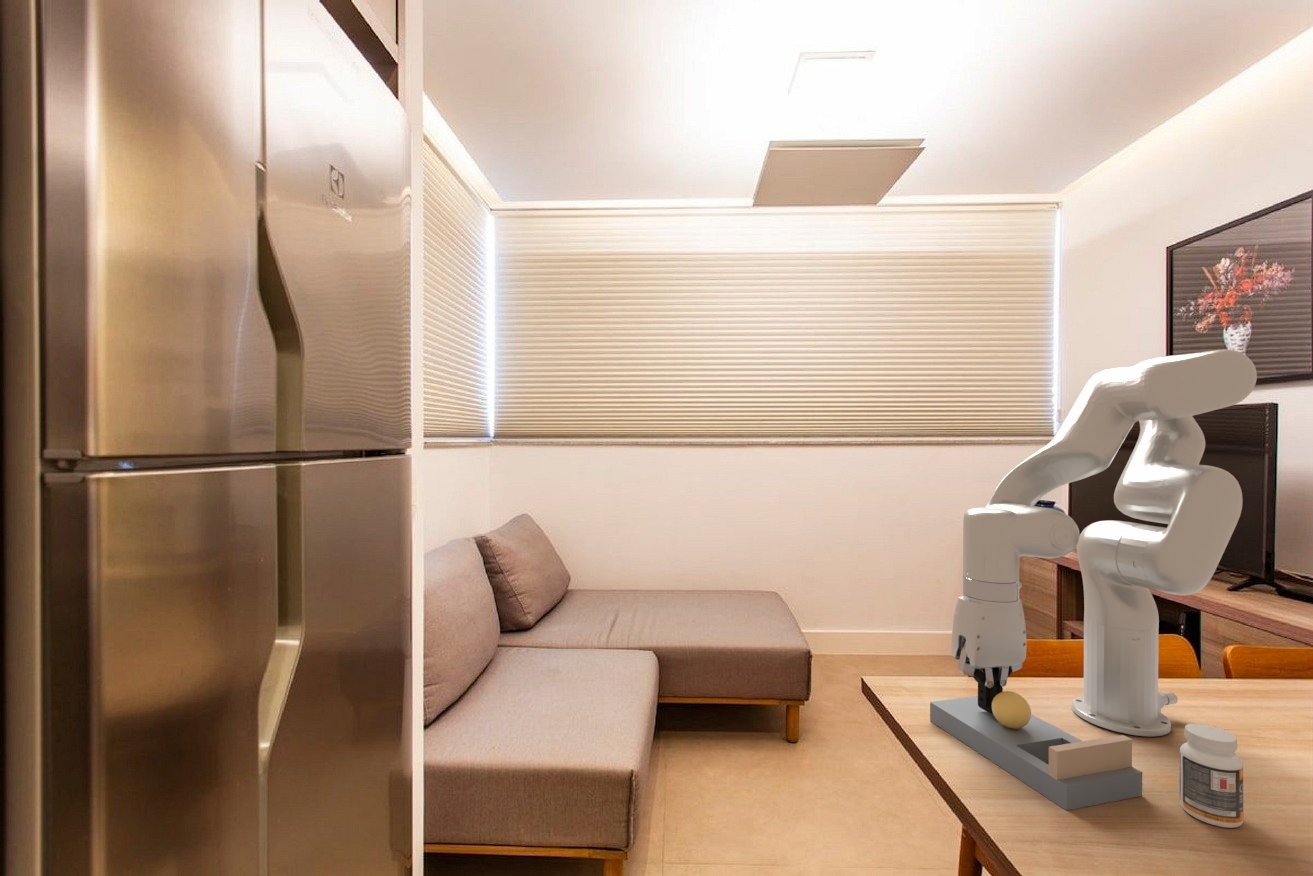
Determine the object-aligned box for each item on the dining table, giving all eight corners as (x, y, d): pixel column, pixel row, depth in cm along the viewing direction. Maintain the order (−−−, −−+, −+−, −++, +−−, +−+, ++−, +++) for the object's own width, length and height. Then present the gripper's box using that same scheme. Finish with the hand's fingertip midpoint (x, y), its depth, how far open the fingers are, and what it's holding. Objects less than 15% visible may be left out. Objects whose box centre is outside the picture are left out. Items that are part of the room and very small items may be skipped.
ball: (1006, 696, 93) (1023, 682, 90) (1027, 730, 90) (1045, 717, 86) (978, 702, 92) (994, 689, 88) (998, 737, 89) (1015, 724, 85)
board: (992, 712, 100) (992, 672, 100) (1142, 795, 77) (1142, 744, 77) (930, 720, 97) (930, 680, 97) (1066, 810, 74) (1066, 757, 74)
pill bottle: (1256, 833, 70) (1257, 746, 70) (1198, 826, 71) (1199, 741, 71) (1221, 804, 76) (1222, 723, 76) (1168, 798, 77) (1168, 719, 77)
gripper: (1011, 581, 99) (1010, 695, 99) (931, 586, 95) (930, 704, 95) (1051, 593, 91) (1051, 715, 91) (966, 599, 88) (966, 727, 88)
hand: (989, 710), depth 93 cm, fingers closed
